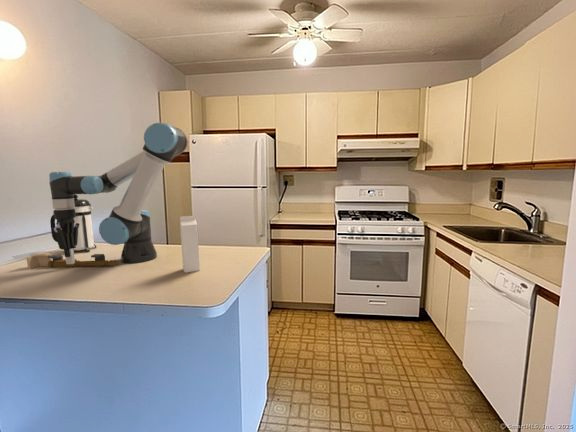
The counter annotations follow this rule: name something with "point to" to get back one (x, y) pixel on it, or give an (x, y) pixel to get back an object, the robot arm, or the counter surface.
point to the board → (44, 258)
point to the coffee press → (81, 224)
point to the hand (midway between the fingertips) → (70, 263)
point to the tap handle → (82, 263)
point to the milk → (189, 243)
